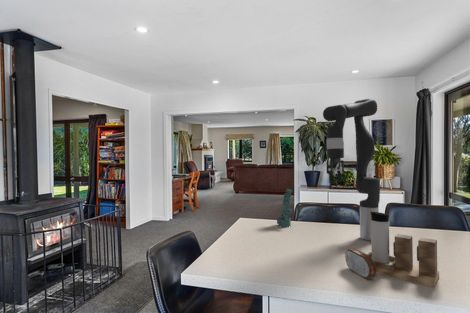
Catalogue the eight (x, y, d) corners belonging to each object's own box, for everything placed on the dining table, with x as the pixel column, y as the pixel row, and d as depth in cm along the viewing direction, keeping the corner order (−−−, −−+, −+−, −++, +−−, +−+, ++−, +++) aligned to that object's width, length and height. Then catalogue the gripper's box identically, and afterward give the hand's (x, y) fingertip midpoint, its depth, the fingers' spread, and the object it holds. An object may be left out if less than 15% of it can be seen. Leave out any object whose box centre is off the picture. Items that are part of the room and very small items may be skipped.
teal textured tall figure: (289, 232, 172) (302, 193, 173) (273, 225, 174) (286, 188, 175) (289, 229, 186) (301, 193, 187) (274, 223, 188) (286, 188, 189)
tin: (377, 282, 98) (376, 258, 98) (369, 283, 97) (369, 258, 97) (350, 266, 113) (350, 245, 113) (343, 267, 112) (343, 245, 112)
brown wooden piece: (361, 268, 110) (360, 233, 110) (370, 261, 118) (369, 227, 118) (434, 287, 94) (433, 245, 94) (439, 276, 102) (438, 238, 102)
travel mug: (367, 260, 113) (366, 210, 113) (383, 259, 113) (382, 210, 113) (376, 266, 106) (376, 213, 107) (393, 265, 107) (392, 213, 107)
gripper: (336, 147, 124) (337, 184, 124) (349, 148, 134) (349, 182, 134) (320, 148, 129) (321, 183, 129) (333, 148, 139) (334, 181, 139)
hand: (335, 182), depth 131 cm, fingers open, 8 cm apart
